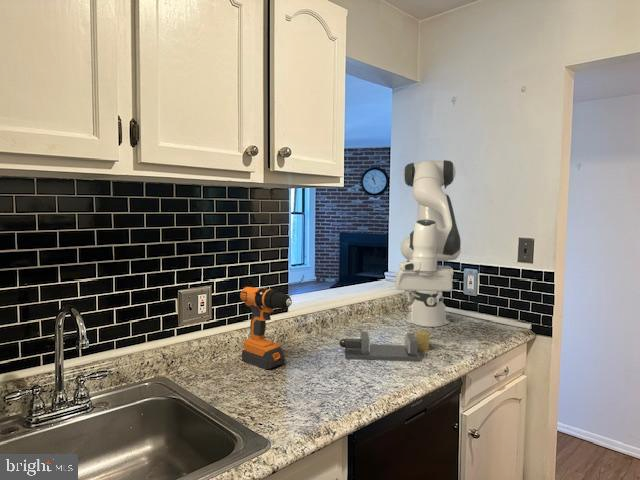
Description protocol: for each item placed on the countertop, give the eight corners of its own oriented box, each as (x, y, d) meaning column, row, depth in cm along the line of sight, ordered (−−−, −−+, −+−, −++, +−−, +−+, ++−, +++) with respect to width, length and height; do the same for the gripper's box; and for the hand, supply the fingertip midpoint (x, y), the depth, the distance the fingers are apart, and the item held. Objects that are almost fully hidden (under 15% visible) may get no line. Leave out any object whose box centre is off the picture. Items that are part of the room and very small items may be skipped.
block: (414, 346, 165) (414, 330, 164) (426, 346, 164) (426, 331, 164) (415, 350, 160) (416, 334, 160) (428, 350, 160) (429, 334, 159)
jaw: (339, 344, 160) (339, 330, 160) (368, 345, 160) (368, 331, 159) (339, 352, 151) (339, 338, 151) (369, 353, 151) (370, 339, 150)
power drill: (300, 370, 139) (301, 291, 137) (283, 376, 133) (284, 295, 131) (253, 354, 153) (254, 282, 151) (237, 359, 147) (237, 285, 145)
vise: (344, 347, 162) (345, 330, 161) (413, 349, 160) (414, 332, 160) (344, 358, 150) (345, 340, 149) (419, 361, 148) (420, 342, 148)
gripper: (451, 264, 162) (449, 301, 164) (395, 263, 163) (394, 299, 165) (455, 266, 156) (454, 305, 157) (397, 265, 157) (396, 303, 158)
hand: (422, 302), depth 161 cm, fingers open, 8 cm apart
